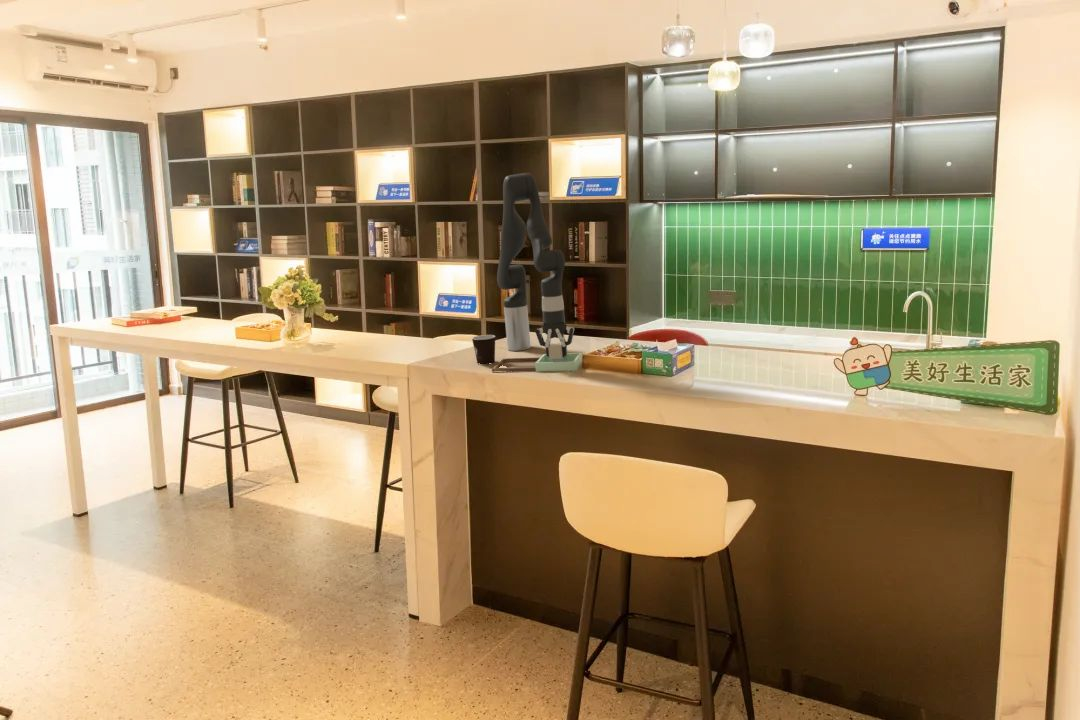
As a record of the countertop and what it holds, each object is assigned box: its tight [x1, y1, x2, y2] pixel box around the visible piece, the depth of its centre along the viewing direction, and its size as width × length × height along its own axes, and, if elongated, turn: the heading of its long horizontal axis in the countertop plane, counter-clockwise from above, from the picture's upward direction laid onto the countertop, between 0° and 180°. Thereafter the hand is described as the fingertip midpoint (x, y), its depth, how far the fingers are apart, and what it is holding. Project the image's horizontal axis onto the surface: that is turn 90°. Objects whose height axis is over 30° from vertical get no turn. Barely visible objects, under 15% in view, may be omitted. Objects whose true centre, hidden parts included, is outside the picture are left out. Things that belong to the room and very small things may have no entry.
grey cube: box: [553, 355, 568, 362], centre depth 294 cm, size 4×4×4 cm
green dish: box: [535, 352, 583, 373], centre depth 291 cm, size 14×14×4 cm
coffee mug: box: [471, 334, 496, 365], centre depth 308 cm, size 12×9×10 cm
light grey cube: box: [548, 342, 563, 359], centre depth 287 cm, size 4×4×4 cm
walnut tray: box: [491, 356, 541, 373], centre depth 297 cm, size 16×16×2 cm
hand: (556, 356), depth 288 cm, fingers closed on light grey cube, 4 cm apart
